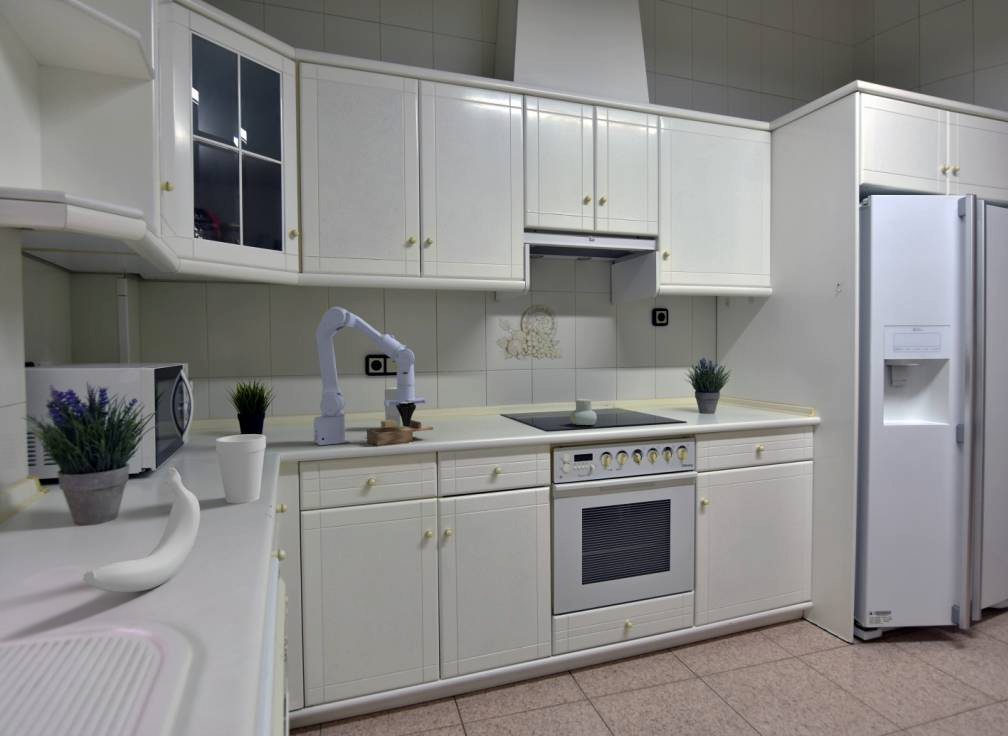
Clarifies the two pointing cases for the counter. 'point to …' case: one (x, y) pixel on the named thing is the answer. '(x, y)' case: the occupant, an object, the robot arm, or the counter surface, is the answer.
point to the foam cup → (241, 466)
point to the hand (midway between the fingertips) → (406, 426)
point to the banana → (166, 553)
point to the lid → (414, 427)
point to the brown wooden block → (388, 436)
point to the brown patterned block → (388, 423)
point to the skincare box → (392, 407)
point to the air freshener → (583, 413)
